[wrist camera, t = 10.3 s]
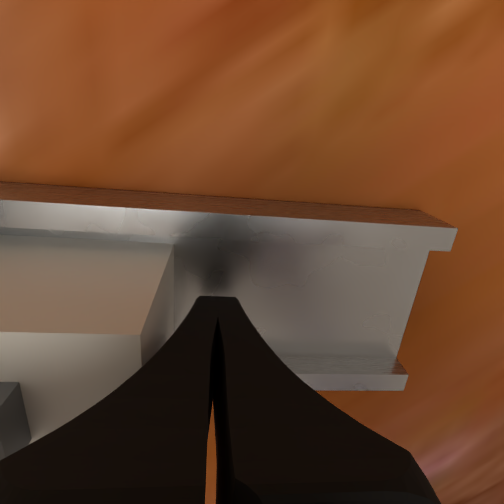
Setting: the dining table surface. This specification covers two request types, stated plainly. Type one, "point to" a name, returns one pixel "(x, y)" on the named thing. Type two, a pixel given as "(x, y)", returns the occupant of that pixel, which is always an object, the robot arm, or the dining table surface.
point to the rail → (267, 266)
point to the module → (75, 326)
